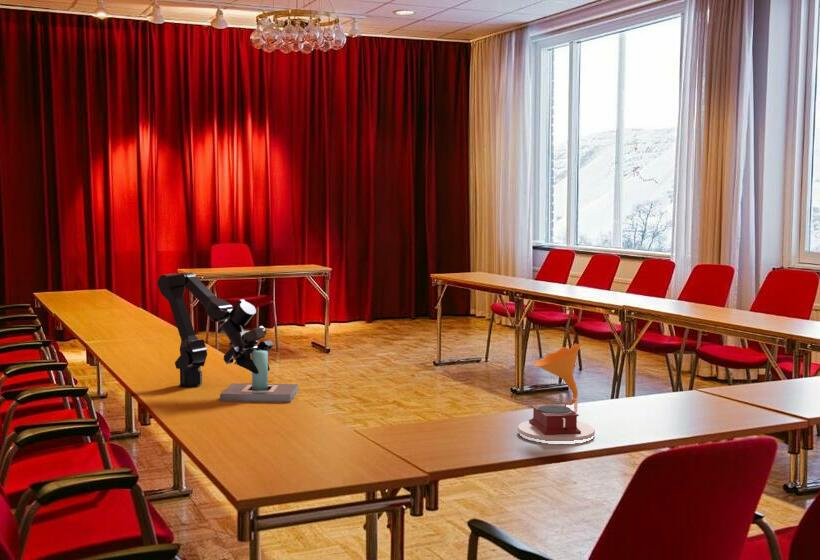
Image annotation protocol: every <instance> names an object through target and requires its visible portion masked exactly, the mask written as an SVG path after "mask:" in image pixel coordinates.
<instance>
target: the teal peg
mask: <svg viewBox="0 0 820 560" xmlns="http://www.w3.org/2000/svg"><path fill="white" fill-rule="evenodd" d="M268 358H269V352H268V351H263V350H258V351H252V354H251V360H252V361H253V363H254V364H255V366H256V368H257V370H258V372H259V373H258V374H255V373H253V372H251V384H252V390H258V391H268V384H269V371H268V364H269V361H268V360H269V359H268Z"/></svg>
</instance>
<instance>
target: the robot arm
mask: <svg viewBox="0 0 820 560" xmlns="http://www.w3.org/2000/svg"><path fill="white" fill-rule="evenodd" d="M156 285H157V287H158V290H159V292H160V293H161V295H162V296H163V297H164V298H165V299H166V300H167V301H168V304H169V306H170V309H171V313H172V317H173V319H174V321H175V324H176V329H177V331H178V334H179V337H180V340H181V341H180V346H179V357H177V359H176V360H175V362H174V364H175V369H177V370H179V385H178V388H179V387H180V388H194V387H195V388H198V387H200V386H201V385H202V384H203V371H202V370H201V367H204V366H205V364H206V359H207V356H208V348H207V347H206V343H205V340H204V338H201V339H199V338H198V337H197V335H196V332H195V330H194V326H193V323H192V321H191V317H190V314H189V311H188V309H187V305H186V302H185V299H184V294H185V291H186V289H187V291H189V292H190V293H191V295H193V297H194V298H196V300H198V301H199V302H200V304H202V305H203V306H204V309H205V313H206V315H207V316H208V317H209V318H210V320H211V321H212V322H214V323H217V322H218V323H219V322H222V321H223V323H222V324H218V328H217V334H223V333H224V334H225V336H226V337H227V338H228V340H229V343H228V345H229V346H230V347H229V349H227V351H226V352H225V354H224V355H223V362H225V364H226V365H231V364H234V365H237V366H238V367H242V368H244V369H245V370H247V371H249V372H251V373H252V372H253V373H255V374H258V373H259V372H258V370H257V368H256V366H255V364H254V363H253V361H252V357H251V355H252V351H258V350H263V351H268V353H269V352H270V350H271V349H272V348H274V346H275V344H274V343H273V342H272V340H270V339H266V340H262V341H261V339H262V338H263V339H264V338H266V335H267V329H266V328H265V327H264V326H263V325H260V326H258V327H256V328H254V329H253V328H252V329H251V330H245V328H244V327H243V326H246V325H247V324H248V323H249V322H250V320H252V318H253V317H254V316H255V314H256V313H257V309H256V307H255V305H254V304H252V303H250V302H248V301H246V300H245V299H244V298H242V299H238V301H237V302H236V304H235V305H234V306H233V305H232V304H230V303H229V302H228V301H227V300H225V299H223V298H220V297H218V296H216V295H215V294H214V293H213V292H212V291H211V290H210V289H209V288H208V287H207V286H206V285H205V284H204V283H203V282H202V281H201V280H200V279H199V278H198V277H197V275H196V273H194V272H183V273H181V274H179V273H168V274H161V275H160V276H159V278H158V280H157V283H156ZM259 340H260V342H259ZM234 359H235V361H234ZM269 371H270V364H269V363H268V372H269Z"/></svg>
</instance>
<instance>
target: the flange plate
mask: <svg viewBox="0 0 820 560" xmlns="http://www.w3.org/2000/svg"><path fill="white" fill-rule="evenodd" d="M297 394H299V384H298V383H268V391H258V390H252V383H237V382H236V383H231V384H230V385H228V386H227V387H226V388H225V389H224V390H223V391H222V392H220V393H219V402H220V403H223V402H227V403H231V402H232V403H291V402H292V400H293V399H294V398H295V397H296V395H297Z"/></svg>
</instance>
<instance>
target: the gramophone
mask: <svg viewBox="0 0 820 560" xmlns="http://www.w3.org/2000/svg"><path fill="white" fill-rule="evenodd" d="M582 346H583V342H581V343H577V342H575V343H574V344H573V345H572V346H571V347H570V348H568V347H564V346H561V347H560V348H559V349H558V350H557V351H556V352H552V353H551V352H550V353H546V355H545V356H544V357H543V359H538V360H537V359H536V360H535V363H534V364H532V366H534V367H539V368H540V369H542V370H544V371H546V372H548V373H550V374H553V375H555V376H557V377H558V378H561V379H562V380H563V382H564V383H565V384H567V386H568V387H569V388H568V389H570V390H571V393H572V397H571V402H569V403H567V401H564V404H563V403H561V404H533V405H531V407H532V409H533V412H532V418H531V419H529V420H526V421H522V422H521V423H519V424H518V426H517V432H518V431H519V433H521V434H523V435H525V436H527V437H530V438H534V439H539V440H545V441H574V440H583V439H588V438H591V437H592V436H594V434H596V433H595V432H596V431H595V430H596V429H595V428H594V426H592V425H590V424H588V423H585V422H582V421H578V420H577V419H578V417H579V416H580V414H578V413H577V412H578V401H579V399H578V394H579V392H578V388H577V383H576V382H575V379H574V375H573V373H574V367H575V364H576V361H577V357H578V354H579V353H578V352H579V351H580V349H581V347H582ZM567 405H568V406H572V405H573V408H574V410H572V409H571V408H570V407H568V406H567Z"/></svg>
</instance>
